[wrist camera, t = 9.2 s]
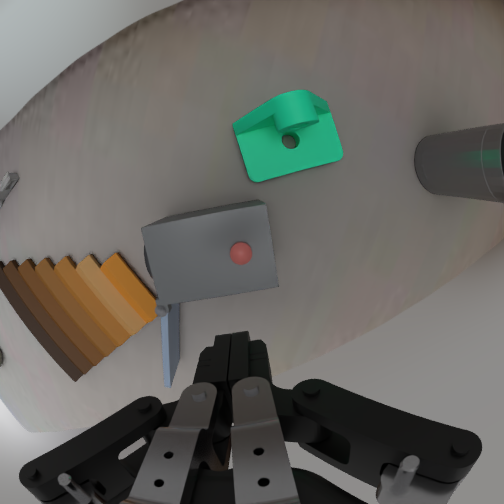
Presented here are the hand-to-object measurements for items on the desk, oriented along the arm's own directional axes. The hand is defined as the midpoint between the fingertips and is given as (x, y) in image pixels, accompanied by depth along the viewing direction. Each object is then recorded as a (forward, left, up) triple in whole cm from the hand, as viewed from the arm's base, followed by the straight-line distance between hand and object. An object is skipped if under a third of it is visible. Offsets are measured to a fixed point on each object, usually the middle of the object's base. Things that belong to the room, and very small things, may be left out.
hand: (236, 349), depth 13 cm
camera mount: (-8, -12, -25) cm, 29 cm away
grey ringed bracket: (+38, -15, -25) cm, 48 cm away
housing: (+3, 0, -25) cm, 25 cm away
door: (+11, +9, -24) cm, 28 cm away
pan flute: (+28, +2, -26) cm, 38 cm away
